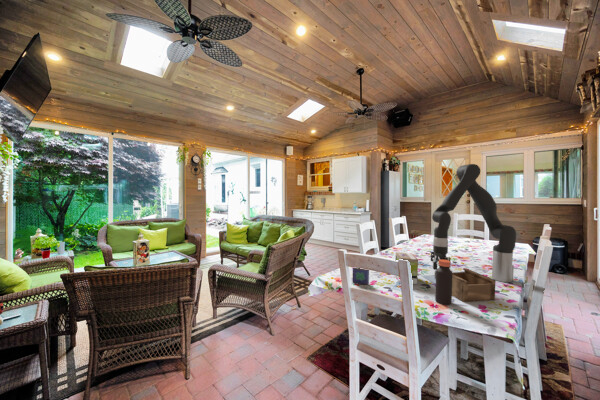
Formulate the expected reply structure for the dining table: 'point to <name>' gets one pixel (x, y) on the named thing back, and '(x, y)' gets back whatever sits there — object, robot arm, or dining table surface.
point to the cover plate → (431, 278)
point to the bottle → (444, 283)
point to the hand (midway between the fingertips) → (439, 271)
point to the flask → (360, 276)
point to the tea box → (413, 263)
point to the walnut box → (472, 286)
